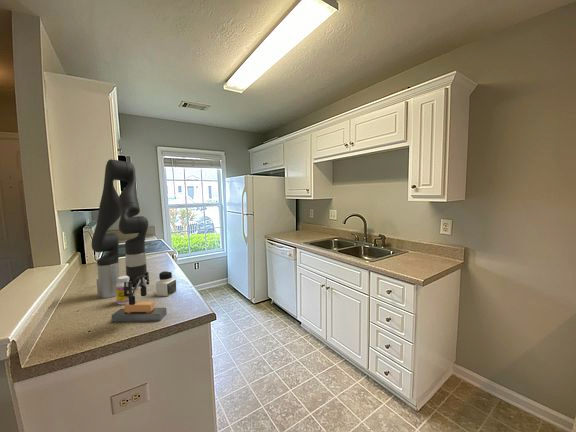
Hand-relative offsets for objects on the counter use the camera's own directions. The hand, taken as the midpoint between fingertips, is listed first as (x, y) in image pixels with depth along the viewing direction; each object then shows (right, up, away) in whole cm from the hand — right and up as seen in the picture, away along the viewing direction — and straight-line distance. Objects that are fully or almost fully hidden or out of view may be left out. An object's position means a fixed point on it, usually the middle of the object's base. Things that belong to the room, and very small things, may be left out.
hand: (138, 300), depth 107 cm
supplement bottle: (-17, -7, +17) cm, 25 cm away
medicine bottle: (-1, -6, +28) cm, 28 cm away
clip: (0, -8, +1) cm, 8 cm away
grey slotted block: (0, -8, +1) cm, 8 cm away
